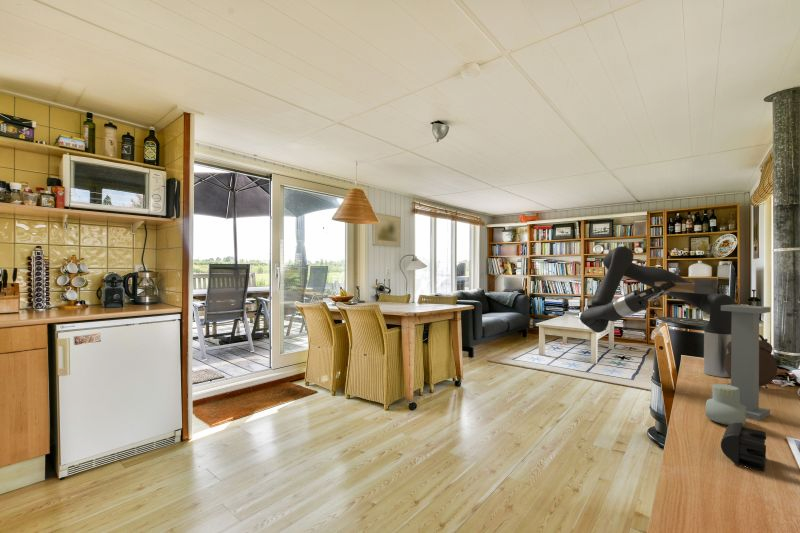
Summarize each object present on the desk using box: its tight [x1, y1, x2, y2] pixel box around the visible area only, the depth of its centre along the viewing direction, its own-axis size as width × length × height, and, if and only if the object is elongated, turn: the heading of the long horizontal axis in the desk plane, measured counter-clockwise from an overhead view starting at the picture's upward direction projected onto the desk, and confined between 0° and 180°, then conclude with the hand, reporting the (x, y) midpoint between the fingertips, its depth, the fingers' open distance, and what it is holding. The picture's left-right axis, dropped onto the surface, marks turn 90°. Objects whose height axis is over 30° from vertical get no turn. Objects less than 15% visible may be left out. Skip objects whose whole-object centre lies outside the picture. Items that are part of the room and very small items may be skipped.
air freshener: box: [705, 383, 747, 426], centre depth 108 cm, size 11×8×10 cm
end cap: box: [720, 423, 767, 473], centre depth 87 cm, size 10×7×7 cm
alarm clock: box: [725, 333, 778, 389], centre depth 142 cm, size 15×7×20 cm, turn 84°
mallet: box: [655, 278, 718, 294], centre depth 130 cm, size 6×16×4 cm, turn 32°
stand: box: [721, 304, 772, 422], centre depth 116 cm, size 9×9×32 cm
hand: (676, 282), depth 131 cm, fingers closed on mallet, 3 cm apart
